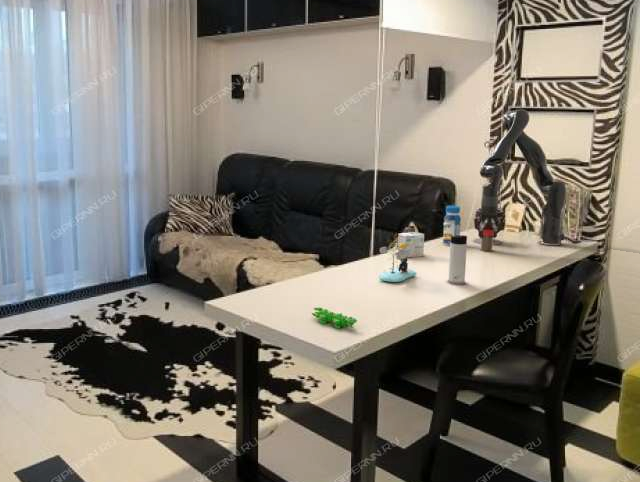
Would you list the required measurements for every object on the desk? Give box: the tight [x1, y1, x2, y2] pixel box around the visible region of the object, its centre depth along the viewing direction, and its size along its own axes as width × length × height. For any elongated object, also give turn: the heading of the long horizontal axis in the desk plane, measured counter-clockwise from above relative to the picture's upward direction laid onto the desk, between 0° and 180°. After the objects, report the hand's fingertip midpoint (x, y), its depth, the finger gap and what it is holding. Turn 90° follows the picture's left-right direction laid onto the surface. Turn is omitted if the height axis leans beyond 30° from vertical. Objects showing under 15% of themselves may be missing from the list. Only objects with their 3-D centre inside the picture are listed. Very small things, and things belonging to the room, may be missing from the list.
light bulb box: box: [397, 231, 425, 258], centre depth 291 cm, size 11×7×11 cm, turn 108°
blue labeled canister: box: [442, 205, 462, 247], centre depth 313 cm, size 8×8×20 cm
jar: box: [480, 235, 494, 252], centre depth 301 cm, size 5×5×9 cm
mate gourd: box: [474, 207, 504, 246], centre depth 317 cm, size 16×14×20 cm
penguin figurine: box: [378, 243, 417, 283], centre depth 253 cm, size 20×11×15 cm, turn 133°
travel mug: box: [448, 234, 468, 286], centre depth 246 cm, size 6×7×20 cm
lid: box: [482, 230, 494, 236], centre depth 300 cm, size 6×6×2 cm
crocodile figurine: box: [311, 306, 358, 329], centre depth 202 cm, size 7×18×4 cm, turn 44°
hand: (487, 237), depth 300 cm, fingers closed on lid, 5 cm apart
